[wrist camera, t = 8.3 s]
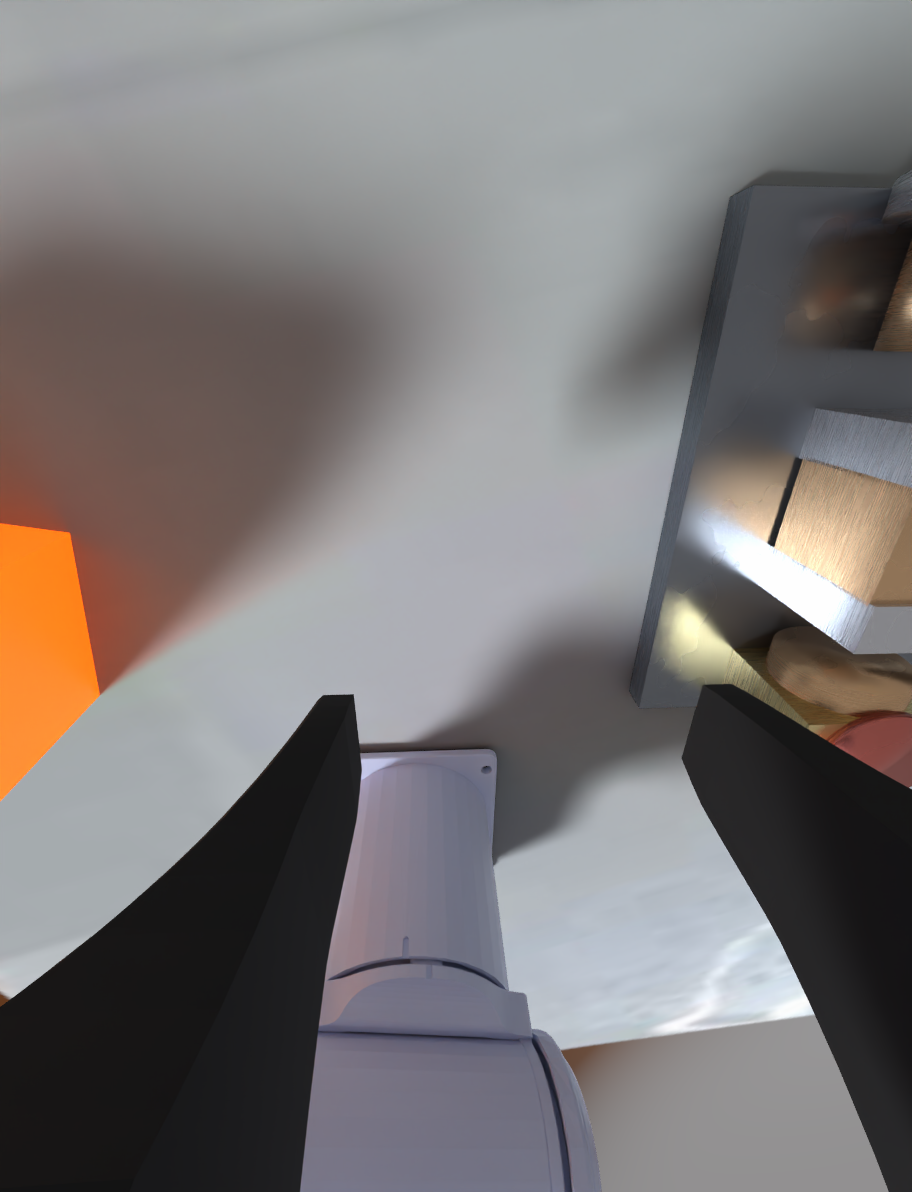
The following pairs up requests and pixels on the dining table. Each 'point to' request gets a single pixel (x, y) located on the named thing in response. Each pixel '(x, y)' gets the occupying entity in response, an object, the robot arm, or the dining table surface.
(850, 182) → the dining table surface
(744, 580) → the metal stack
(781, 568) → the block
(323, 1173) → the robot arm
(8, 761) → the orange juice
